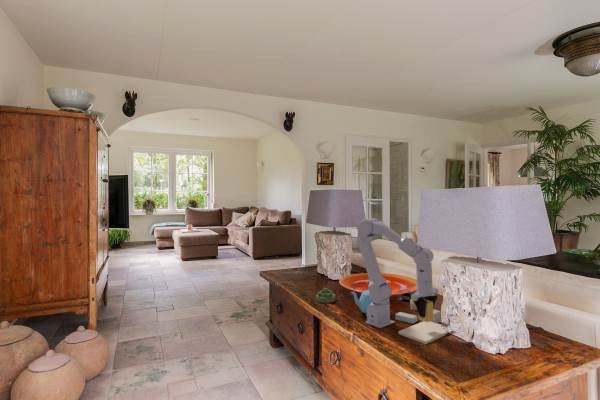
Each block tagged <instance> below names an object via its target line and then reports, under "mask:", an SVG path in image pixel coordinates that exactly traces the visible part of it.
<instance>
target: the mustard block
mask: <svg viewBox="0 0 600 400" xmlns="http://www.w3.org/2000/svg"><path fill="white" fill-rule="evenodd" d="M427 301H428V300H427ZM433 309H434V308H433V302H432V301H428V302H427V305H426V313H425V317H424V318H423V317H420V316H419V313H418V312H417V320H420V321H421V322H423V321H425V322H429V321H432V320H434V316H433Z"/></svg>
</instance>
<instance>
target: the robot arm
mask: <svg viewBox="0 0 600 400" xmlns="http://www.w3.org/2000/svg"><path fill="white" fill-rule="evenodd" d="M356 230H357V238H356V241H357V245H358V248H359V252H360V254H361V255H360V256H361V257H362V260H363V263H364V266H365V269H366V273H367V275H368V276H367V277H368V279H369V283H368V287H367V288H368V289H369V297H370V299H371V301H372V303H371V304H370V305H368V307H367V316H366V318H367V319H366V320H365V323H366V324H368V325H371V326H374V327H376V328H378V329H382V328H385V327H386V326H387V327H388V326H389V325H392V324H395V322H396V320H395V321H394V320H392V319H391V308H390V307H391V306H390V305H391V303H390V297H391V296H392V294H393V290H392V287H391V286H390V285H389V284H388V282H387V280H386V279H385V278H384V277H383V276H382V273H381V272H382V271H381V269H380V266H379V263H378V259H377V257H376V253H375V251H374V247H373V244H372V240H373V238H374V236H375V235H382V236H384V237H385V238H387V239H388V240H390V241H392V242H393V243H395V244H397V245H398V249H399V250H400V251H401V252H403V253H404V254H406V255H407V256H409V257H410V258H411V259H413V261H414V263H415V269H416V270H415V271H416V291H415V292H414V293H412V295H411V300H413V302H414V303H415V305H416V307H417V310H418V311H417V314H418V313H419V316H420V317H423V318H424V317H425V313H426V305H427V302H428V301H432V302H433V309H434V307H435V304H436V301H438V300H437V299H438V296H437V294H439V288H437V287H433V269H432V267H433V266H432V265H433V264H432V261H433V260H434V253H433V251H431V249H430V248H428V247H423V248H422V247H421V245H420V244H418V243H417V242H415V241H414V238H412V237H408V236H407V237H403V236H401V235H399V233H397V232H396V231H394V230H393V229H392V228H391V227H390V226H388V225H387V224H386V223H384V221H382V220H380V219H379V218H376V217H372V218H367V219H362V220H361V221H359V223H358V224H357V226H356ZM419 245H420V246H419ZM427 248H428V249H427ZM427 300H428V301H427Z"/></svg>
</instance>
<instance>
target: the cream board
mask: <svg viewBox="0 0 600 400" xmlns="http://www.w3.org/2000/svg"><path fill="white" fill-rule="evenodd" d="M441 325H442V324H440V323H434V322H431V321H429V322H425V321H421V322H418V323H416V324H415V323H414V325H411V326H409V327H406V328H403V329H401V330H398V332H397V333H398V335H401V336H402V337H405V338H409V339H410V340H413V341H416V342H419V343H421V344H424V345H427V344H429V343H432V342H434V341H436V340H438V339H440V338H442V337H444V336H446V334H447V333H448V331H445V330H443V329H442V327H441ZM447 335H448V334H447Z"/></svg>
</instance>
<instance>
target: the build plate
mask: <svg viewBox="0 0 600 400" xmlns="http://www.w3.org/2000/svg"><path fill="white" fill-rule="evenodd" d="M408 292H409V293H405V294H403V293H402V297H398V298H397V300H396V301H398V302H406V303H407V302H408V303H410V299H411V295H412V294H413V293H412V291H408Z"/></svg>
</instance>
